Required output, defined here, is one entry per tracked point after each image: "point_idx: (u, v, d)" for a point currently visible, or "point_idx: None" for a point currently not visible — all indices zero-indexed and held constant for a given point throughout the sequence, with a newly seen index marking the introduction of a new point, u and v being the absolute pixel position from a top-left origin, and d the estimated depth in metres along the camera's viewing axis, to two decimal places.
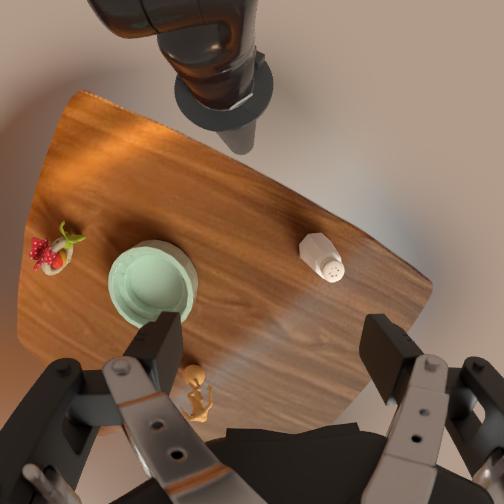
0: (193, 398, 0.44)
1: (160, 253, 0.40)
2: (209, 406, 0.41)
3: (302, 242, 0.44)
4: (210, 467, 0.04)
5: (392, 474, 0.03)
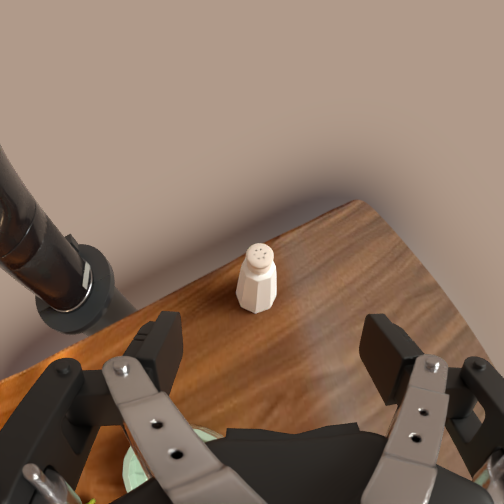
0: None
1: None
2: None
3: (239, 301, 0.38)
4: (210, 467, 0.04)
5: (392, 474, 0.03)
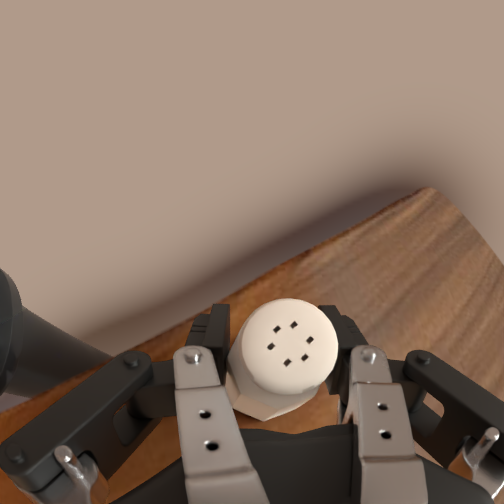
0: None
1: None
2: None
3: (229, 399, 0.16)
4: (238, 465, 0.04)
5: (392, 474, 0.03)
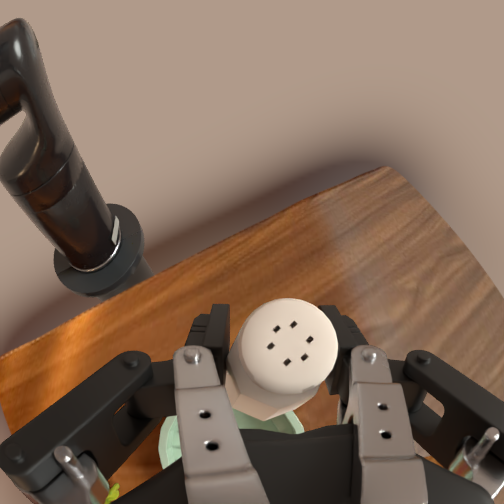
0: None
1: None
2: None
3: (229, 399, 0.16)
4: (238, 465, 0.04)
5: (392, 474, 0.03)
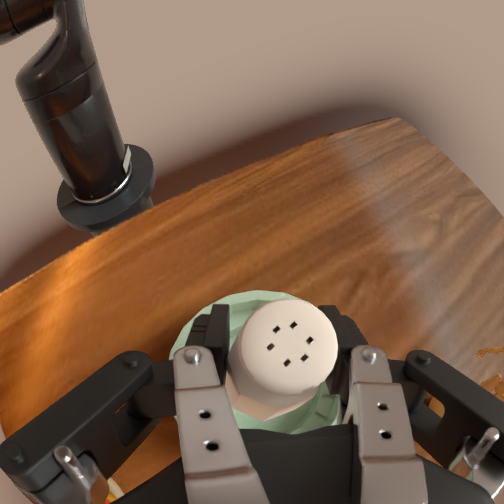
0: None
1: (210, 311, 0.21)
2: None
3: (229, 399, 0.16)
4: (238, 465, 0.04)
5: (392, 474, 0.03)
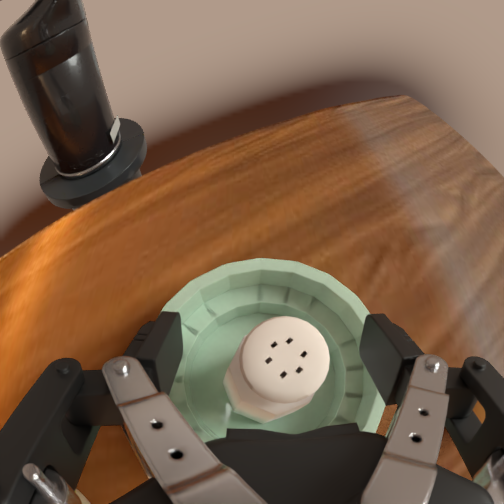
0: None
1: (199, 284, 0.17)
2: None
3: (230, 403, 0.16)
4: (210, 467, 0.04)
5: (392, 474, 0.03)
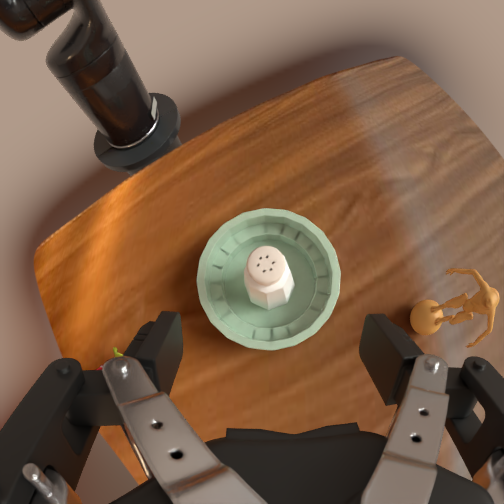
0: (459, 312, 0.23)
1: (229, 225, 0.29)
2: (477, 274, 0.21)
3: (249, 296, 0.31)
4: (209, 467, 0.04)
5: (392, 474, 0.03)
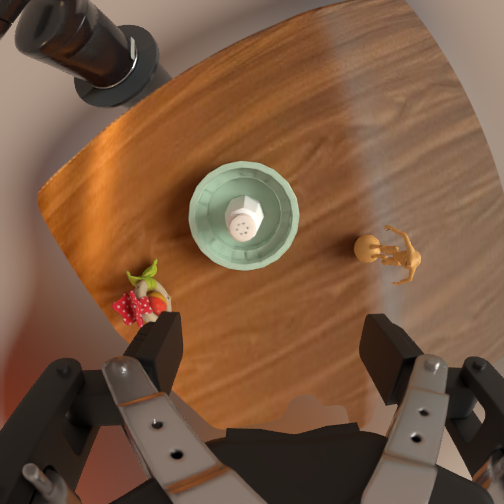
0: (389, 258, 0.35)
1: (212, 175, 0.35)
2: (407, 238, 0.31)
3: None
4: (209, 466, 0.04)
5: (392, 474, 0.03)
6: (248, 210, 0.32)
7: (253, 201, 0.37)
